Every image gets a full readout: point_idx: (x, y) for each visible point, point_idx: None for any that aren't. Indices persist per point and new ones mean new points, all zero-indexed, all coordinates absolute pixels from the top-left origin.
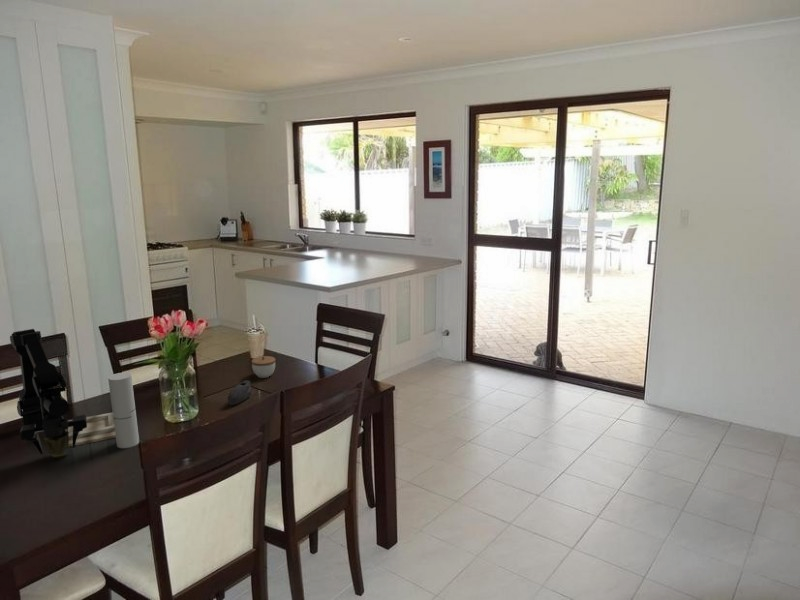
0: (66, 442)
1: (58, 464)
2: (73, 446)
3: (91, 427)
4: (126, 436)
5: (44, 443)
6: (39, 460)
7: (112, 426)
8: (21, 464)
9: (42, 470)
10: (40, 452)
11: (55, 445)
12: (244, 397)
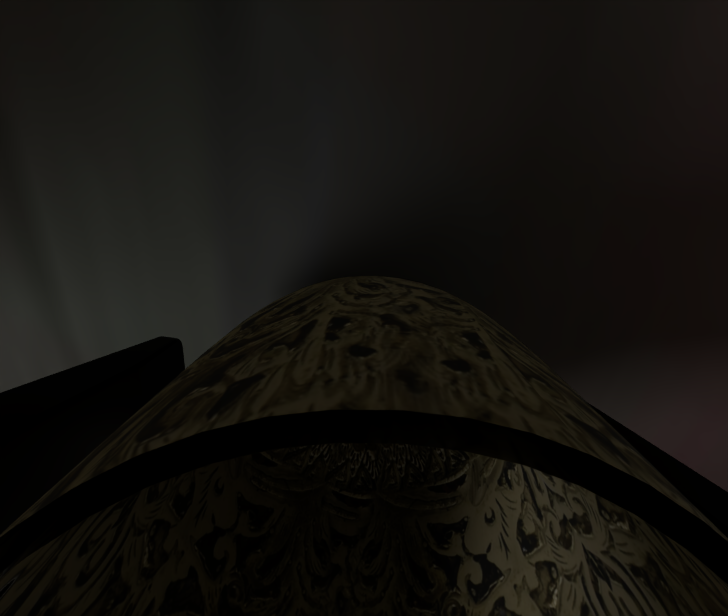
0: (163, 388)
1: (415, 85)
2: (157, 347)
3: None
4: None
5: (650, 561)
6: (556, 359)
7: None
8: (719, 377)
9: (662, 4)
10: (606, 415)
11: (443, 334)
12: None
